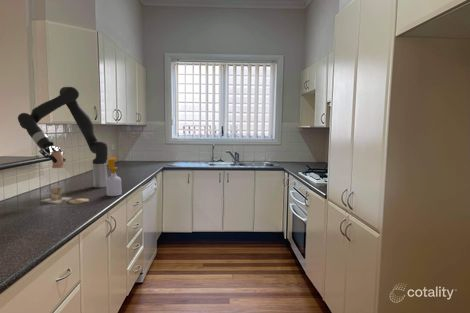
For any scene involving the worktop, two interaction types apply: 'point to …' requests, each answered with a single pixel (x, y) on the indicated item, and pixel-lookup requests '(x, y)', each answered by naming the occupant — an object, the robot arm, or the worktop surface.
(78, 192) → the worktop surface
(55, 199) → the white display stand
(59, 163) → the lidded jar
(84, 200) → the mat
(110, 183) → the soap bottle
